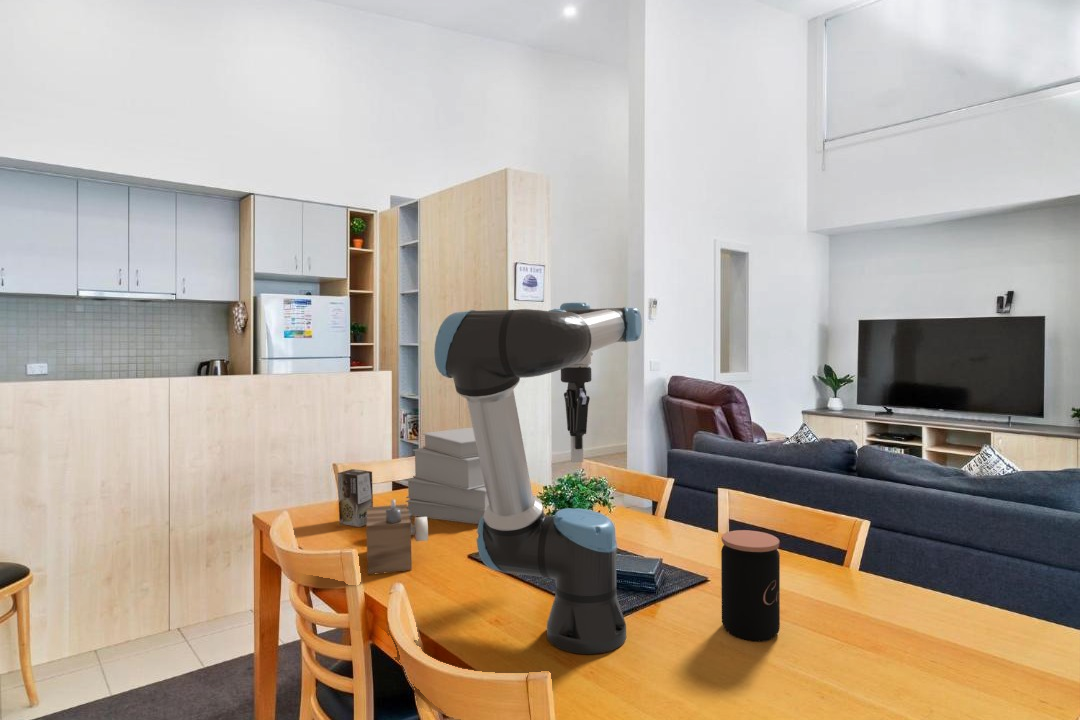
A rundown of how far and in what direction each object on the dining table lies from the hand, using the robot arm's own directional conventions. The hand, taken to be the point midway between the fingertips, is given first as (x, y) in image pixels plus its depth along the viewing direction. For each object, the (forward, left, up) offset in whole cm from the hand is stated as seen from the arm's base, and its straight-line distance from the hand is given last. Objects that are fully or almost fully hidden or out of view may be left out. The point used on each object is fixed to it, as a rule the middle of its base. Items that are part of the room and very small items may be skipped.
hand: (577, 461), depth 158 cm
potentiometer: (+12, +44, -14) cm, 48 cm away
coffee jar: (-42, -21, -27) cm, 54 cm away
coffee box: (+57, +54, -27) cm, 83 cm away
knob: (+19, +43, -22) cm, 52 cm away
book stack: (+59, +19, -27) cm, 68 cm away
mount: (+19, +45, -26) cm, 56 cm away
